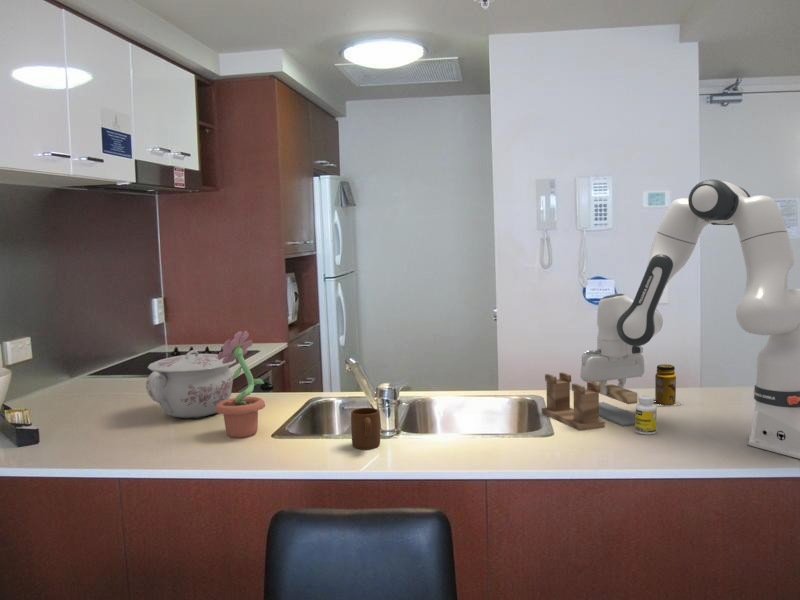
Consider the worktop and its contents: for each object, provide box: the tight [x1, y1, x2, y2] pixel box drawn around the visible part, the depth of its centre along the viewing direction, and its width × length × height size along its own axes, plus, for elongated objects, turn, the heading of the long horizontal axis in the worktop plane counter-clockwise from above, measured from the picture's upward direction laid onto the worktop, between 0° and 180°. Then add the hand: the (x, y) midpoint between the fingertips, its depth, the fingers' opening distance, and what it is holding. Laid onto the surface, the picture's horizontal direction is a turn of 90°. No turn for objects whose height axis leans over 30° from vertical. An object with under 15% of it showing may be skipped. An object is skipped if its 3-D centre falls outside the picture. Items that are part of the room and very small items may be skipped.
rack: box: [541, 371, 606, 431], centre depth 209 cm, size 21×8×12 cm, turn 18°
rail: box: [592, 381, 638, 405], centre depth 214 cm, size 20×3×3 cm, turn 18°
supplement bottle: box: [634, 395, 657, 436], centre depth 195 cm, size 5×5×10 cm
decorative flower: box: [215, 330, 266, 439], centre depth 204 cm, size 15×14×30 cm
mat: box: [599, 401, 636, 427], centre depth 214 cm, size 24×10×1 cm, turn 18°
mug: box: [350, 407, 381, 450], centre depth 188 cm, size 12×8×9 cm, turn 9°
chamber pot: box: [145, 349, 237, 420], centre depth 230 cm, size 28×28×21 cm
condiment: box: [653, 364, 682, 407], centre depth 225 cm, size 7×8×12 cm
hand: (612, 394), depth 214 cm, fingers closed on rail, 3 cm apart
